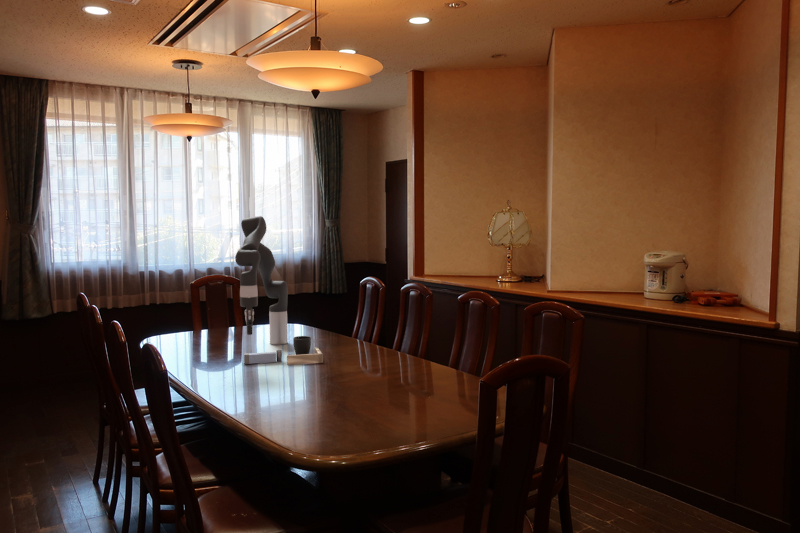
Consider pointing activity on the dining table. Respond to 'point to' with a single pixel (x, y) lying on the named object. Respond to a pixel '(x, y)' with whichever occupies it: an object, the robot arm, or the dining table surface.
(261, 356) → the leg
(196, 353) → the dining table surface
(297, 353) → the mug
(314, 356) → the seat frame
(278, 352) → the hinge post
